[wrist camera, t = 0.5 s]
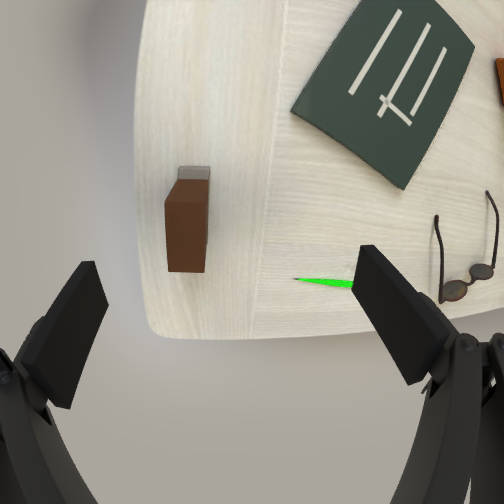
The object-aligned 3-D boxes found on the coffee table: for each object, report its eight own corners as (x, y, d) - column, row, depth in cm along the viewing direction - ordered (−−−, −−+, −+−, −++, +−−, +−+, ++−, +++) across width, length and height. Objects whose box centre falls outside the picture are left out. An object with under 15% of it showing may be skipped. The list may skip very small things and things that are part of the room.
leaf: (378, 288, 37) (381, 291, 36) (289, 279, 35) (290, 283, 34) (381, 282, 37) (383, 285, 36) (291, 273, 34) (292, 277, 33)
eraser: (180, 165, 26) (164, 188, 19) (209, 166, 27) (205, 188, 19) (180, 238, 30) (169, 282, 23) (207, 238, 30) (204, 283, 23)
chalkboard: (386, -35, 15) (391, -38, 14) (469, 46, 20) (475, 46, 19) (290, 111, 25) (293, 111, 24) (398, 187, 30) (403, 191, 29)
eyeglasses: (430, 293, 39) (446, 311, 35) (430, 216, 32) (452, 232, 28) (484, 259, 38) (501, 273, 33) (489, 186, 31) (510, 198, 26)
